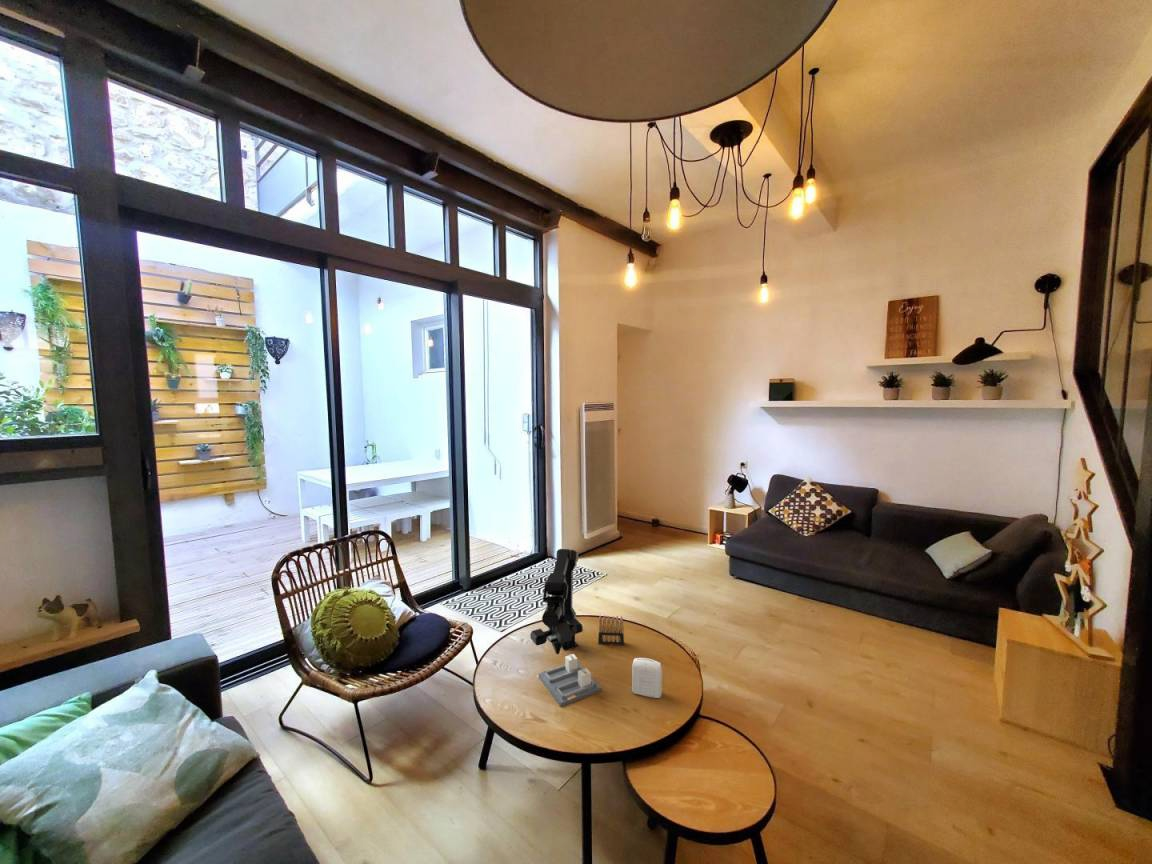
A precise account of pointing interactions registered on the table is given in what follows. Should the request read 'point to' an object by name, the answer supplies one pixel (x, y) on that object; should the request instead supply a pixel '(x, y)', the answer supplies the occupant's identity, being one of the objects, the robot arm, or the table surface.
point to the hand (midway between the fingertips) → (557, 653)
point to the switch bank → (567, 685)
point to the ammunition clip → (611, 631)
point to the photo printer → (647, 677)
